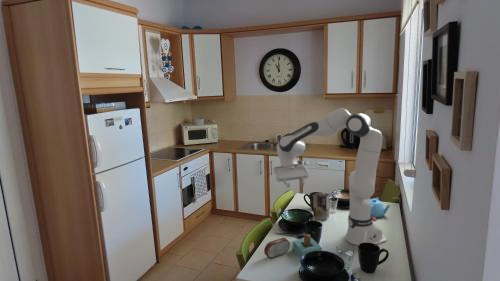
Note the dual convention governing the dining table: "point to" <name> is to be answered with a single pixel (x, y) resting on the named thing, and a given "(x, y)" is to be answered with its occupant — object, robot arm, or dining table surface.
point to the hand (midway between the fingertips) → (295, 185)
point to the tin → (276, 247)
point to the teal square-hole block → (301, 250)
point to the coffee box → (321, 206)
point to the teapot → (377, 208)
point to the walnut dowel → (307, 240)
